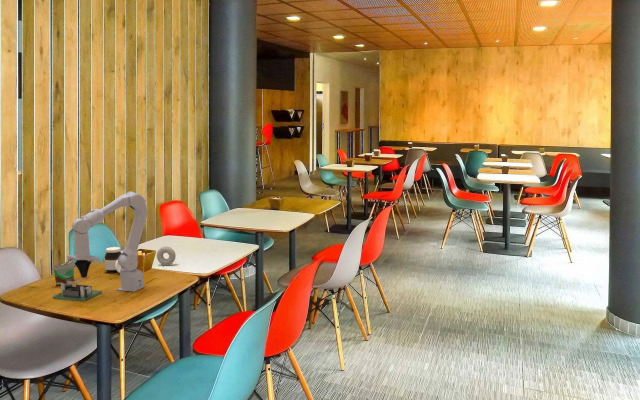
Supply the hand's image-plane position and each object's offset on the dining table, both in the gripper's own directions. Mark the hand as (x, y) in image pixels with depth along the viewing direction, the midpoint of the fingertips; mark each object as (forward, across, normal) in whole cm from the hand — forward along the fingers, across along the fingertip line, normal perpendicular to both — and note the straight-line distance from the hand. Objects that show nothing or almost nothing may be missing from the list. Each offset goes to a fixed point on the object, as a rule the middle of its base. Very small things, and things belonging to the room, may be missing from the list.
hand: (84, 277), depth 260 cm
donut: (+9, +7, +56) cm, 57 cm away
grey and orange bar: (+3, -4, 0) cm, 5 cm away
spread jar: (+9, -11, +39) cm, 42 cm away
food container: (+9, -21, +15) cm, 27 cm away
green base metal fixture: (+9, -4, 0) cm, 10 cm away
